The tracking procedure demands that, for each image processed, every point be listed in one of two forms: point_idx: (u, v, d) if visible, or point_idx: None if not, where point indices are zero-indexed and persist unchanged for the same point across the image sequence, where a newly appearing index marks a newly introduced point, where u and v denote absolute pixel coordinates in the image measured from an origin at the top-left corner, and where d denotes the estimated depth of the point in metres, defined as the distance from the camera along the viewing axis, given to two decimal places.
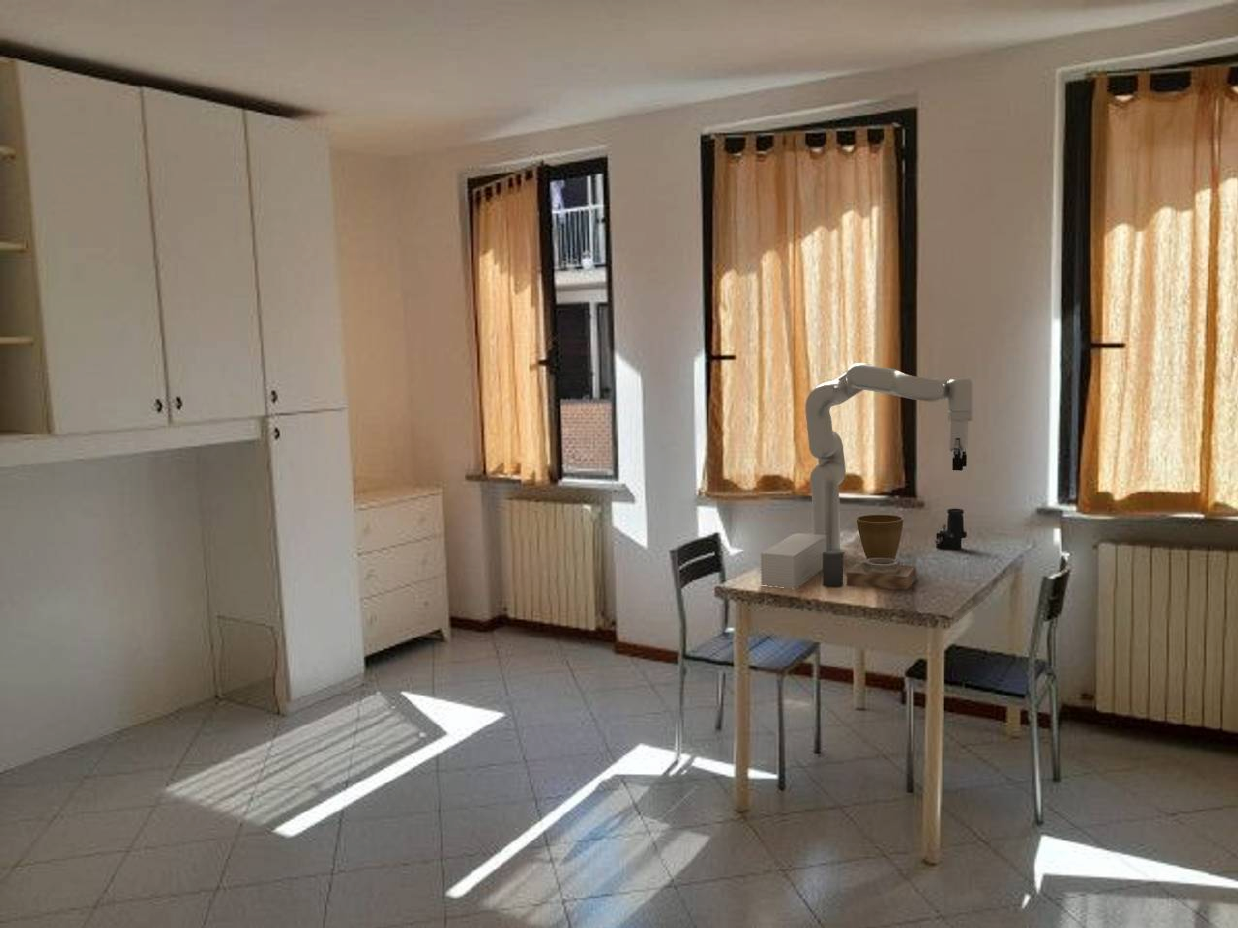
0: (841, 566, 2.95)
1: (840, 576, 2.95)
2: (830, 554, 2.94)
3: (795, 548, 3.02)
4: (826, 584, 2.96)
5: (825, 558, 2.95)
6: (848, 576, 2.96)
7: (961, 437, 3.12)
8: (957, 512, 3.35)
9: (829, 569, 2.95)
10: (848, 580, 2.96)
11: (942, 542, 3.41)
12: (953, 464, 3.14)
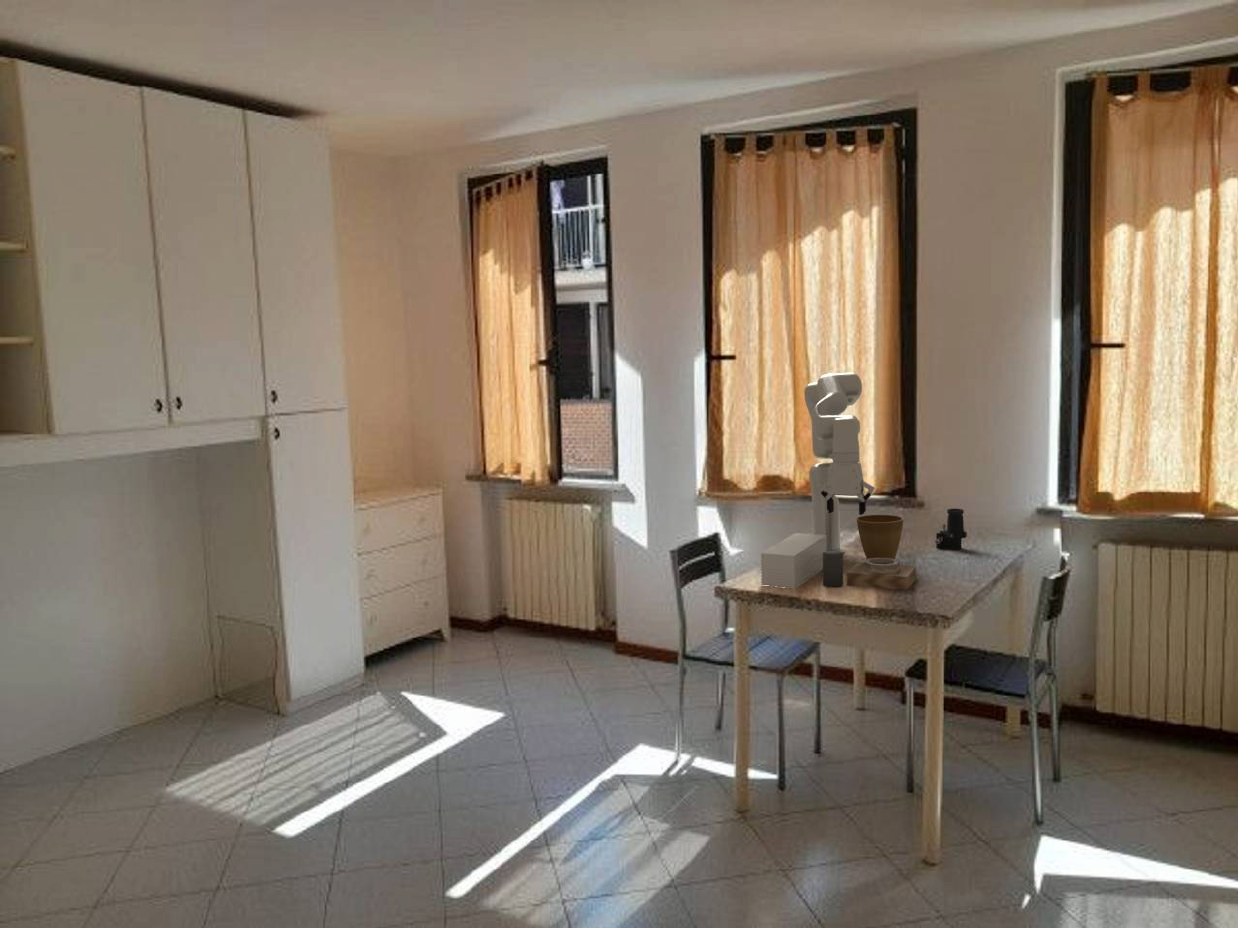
0: (841, 566, 2.95)
1: (840, 576, 2.95)
2: (830, 554, 2.94)
3: (795, 548, 3.02)
4: (826, 584, 2.96)
5: (825, 558, 2.95)
6: (848, 576, 2.96)
7: (862, 479, 2.94)
8: (957, 512, 3.35)
9: (829, 569, 2.95)
10: (848, 580, 2.96)
11: (942, 542, 3.41)
12: (861, 508, 2.93)
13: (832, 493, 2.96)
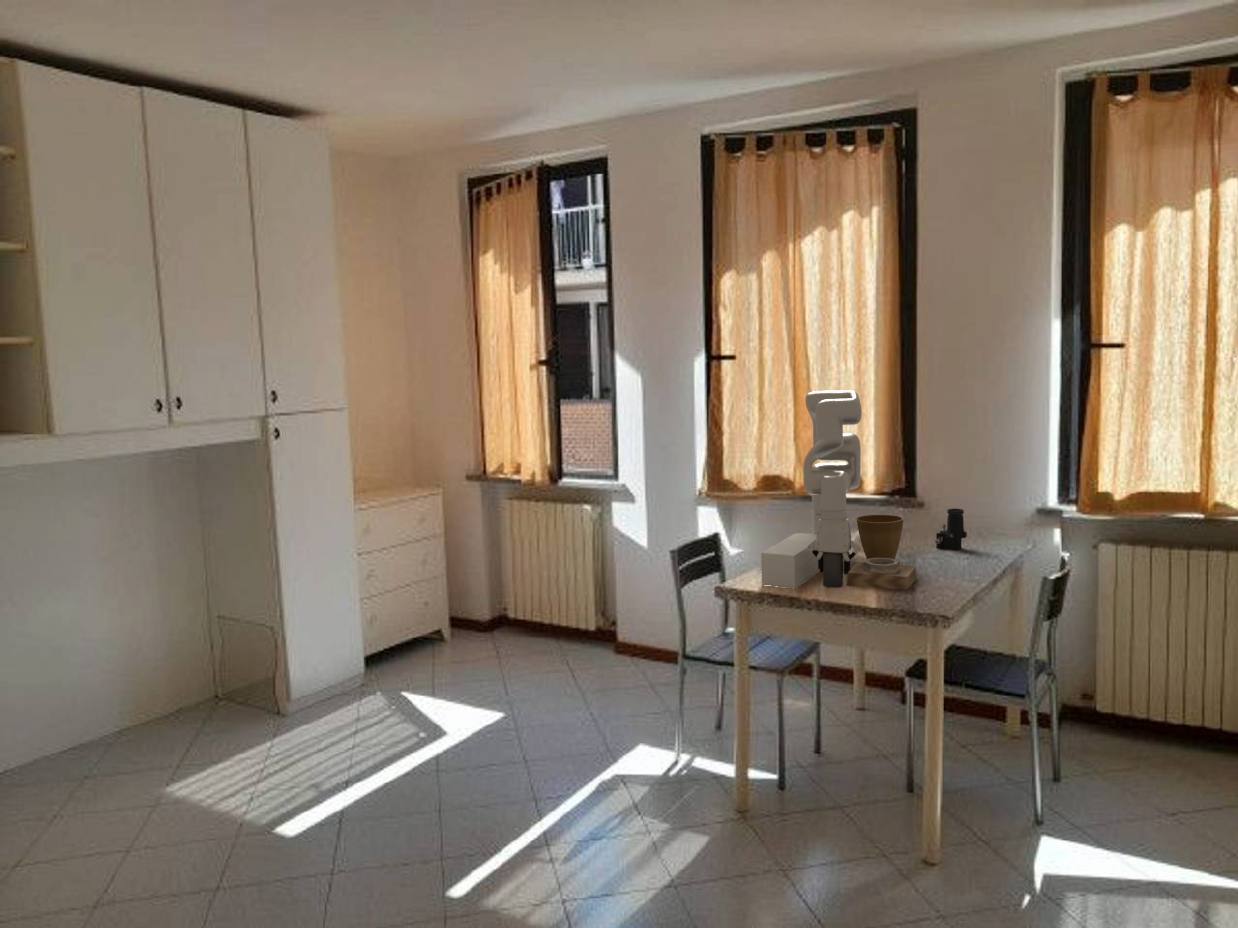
0: (841, 566, 2.95)
1: (840, 576, 2.95)
2: (830, 554, 2.94)
3: (795, 548, 3.03)
4: (826, 584, 2.96)
5: (825, 558, 2.95)
6: (848, 576, 2.96)
7: (850, 536, 2.94)
8: (957, 512, 3.35)
9: (829, 569, 2.94)
10: (848, 580, 2.96)
11: (942, 542, 3.41)
12: (846, 568, 2.94)
13: (820, 550, 2.95)
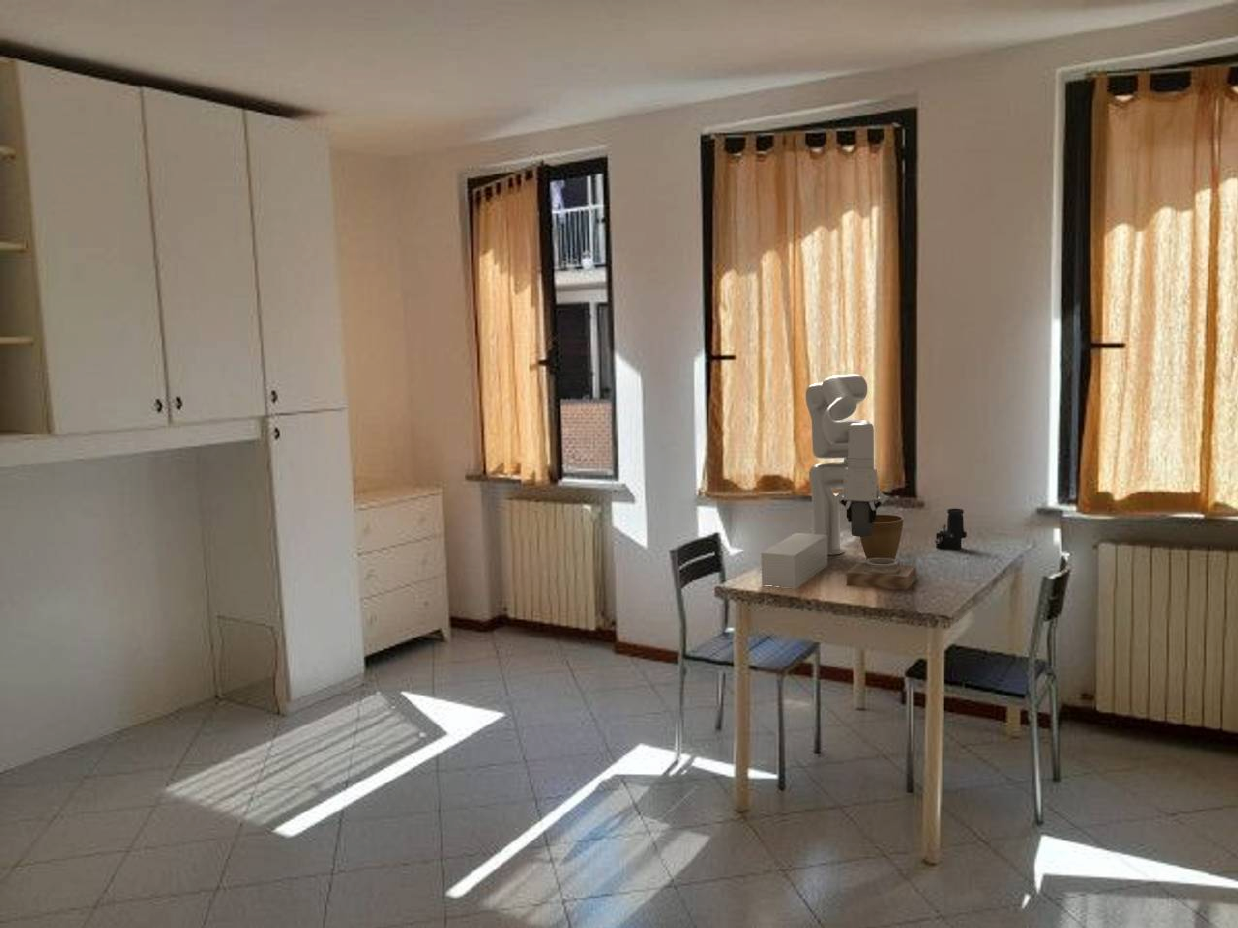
0: None
1: (869, 526, 2.94)
2: (859, 503, 2.93)
3: (796, 548, 3.03)
4: (854, 533, 2.95)
5: (854, 508, 2.94)
6: (848, 576, 2.96)
7: (878, 484, 2.93)
8: (957, 512, 3.35)
9: (857, 518, 2.93)
10: (848, 580, 2.96)
11: (942, 542, 3.41)
12: (872, 517, 2.93)
13: (848, 499, 2.94)
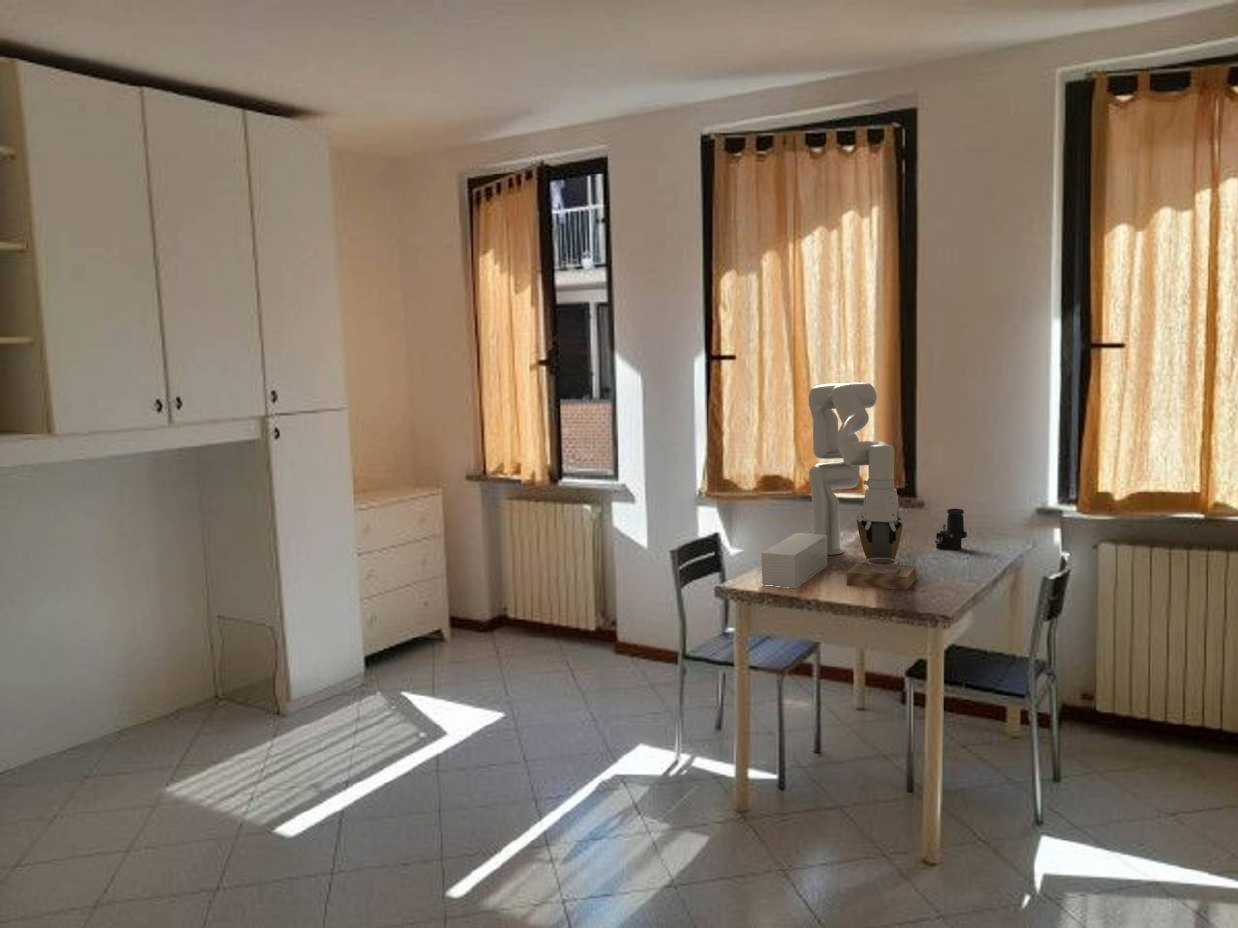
0: None
1: (889, 546, 2.95)
2: (879, 524, 2.95)
3: (796, 548, 3.03)
4: (875, 554, 2.96)
5: (874, 528, 2.95)
6: (848, 576, 2.96)
7: (898, 505, 2.95)
8: (957, 512, 3.35)
9: (878, 539, 2.95)
10: (848, 580, 2.96)
11: (942, 542, 3.41)
12: (892, 537, 2.94)
13: (868, 520, 2.95)
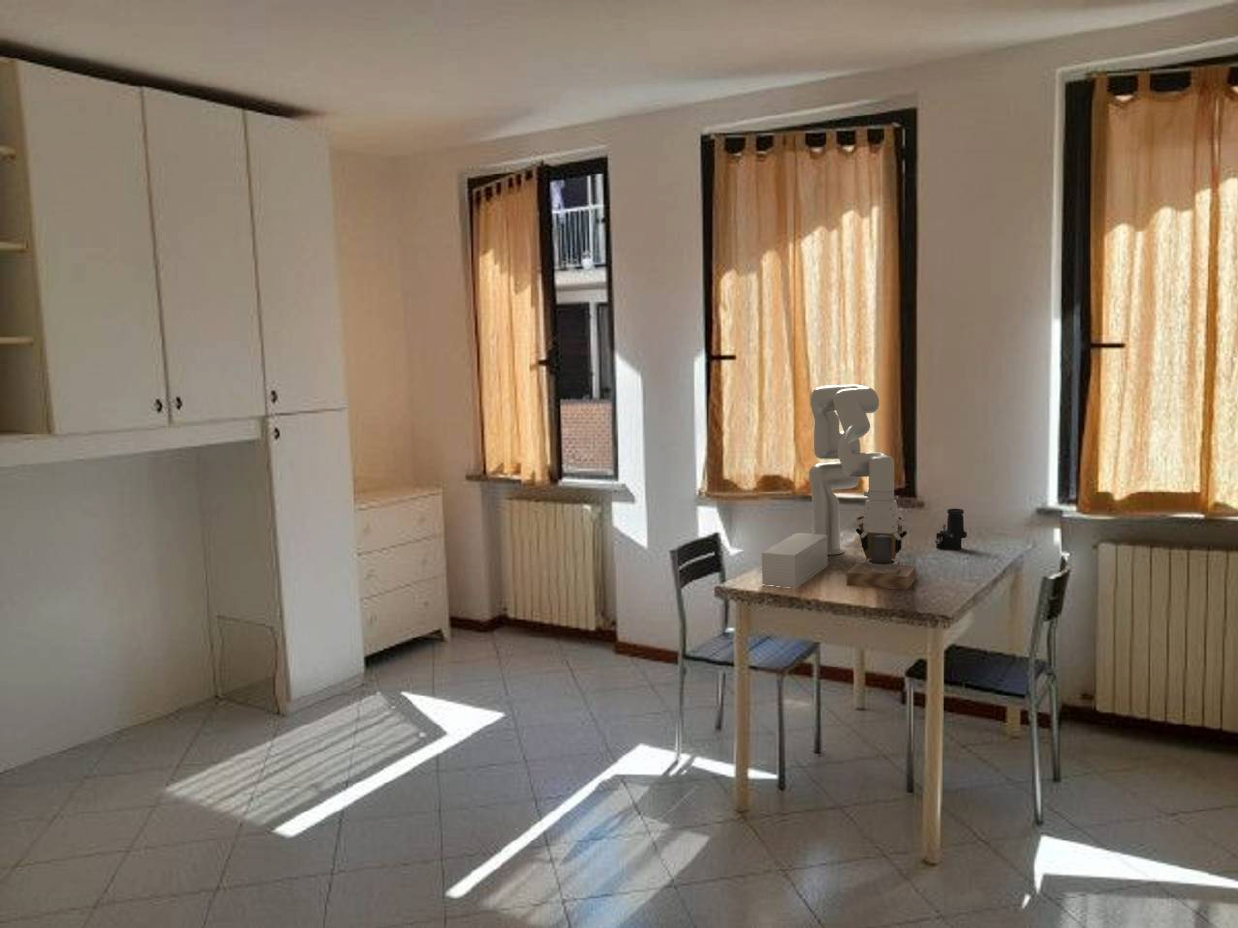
0: (890, 550, 2.96)
1: (889, 560, 2.96)
2: (879, 538, 2.95)
3: (796, 548, 3.03)
4: None
5: (874, 542, 2.96)
6: (848, 576, 2.96)
7: (898, 517, 2.95)
8: (957, 512, 3.35)
9: (878, 553, 2.95)
10: (848, 580, 2.96)
11: (942, 542, 3.41)
12: (897, 546, 2.94)
13: (868, 531, 2.96)
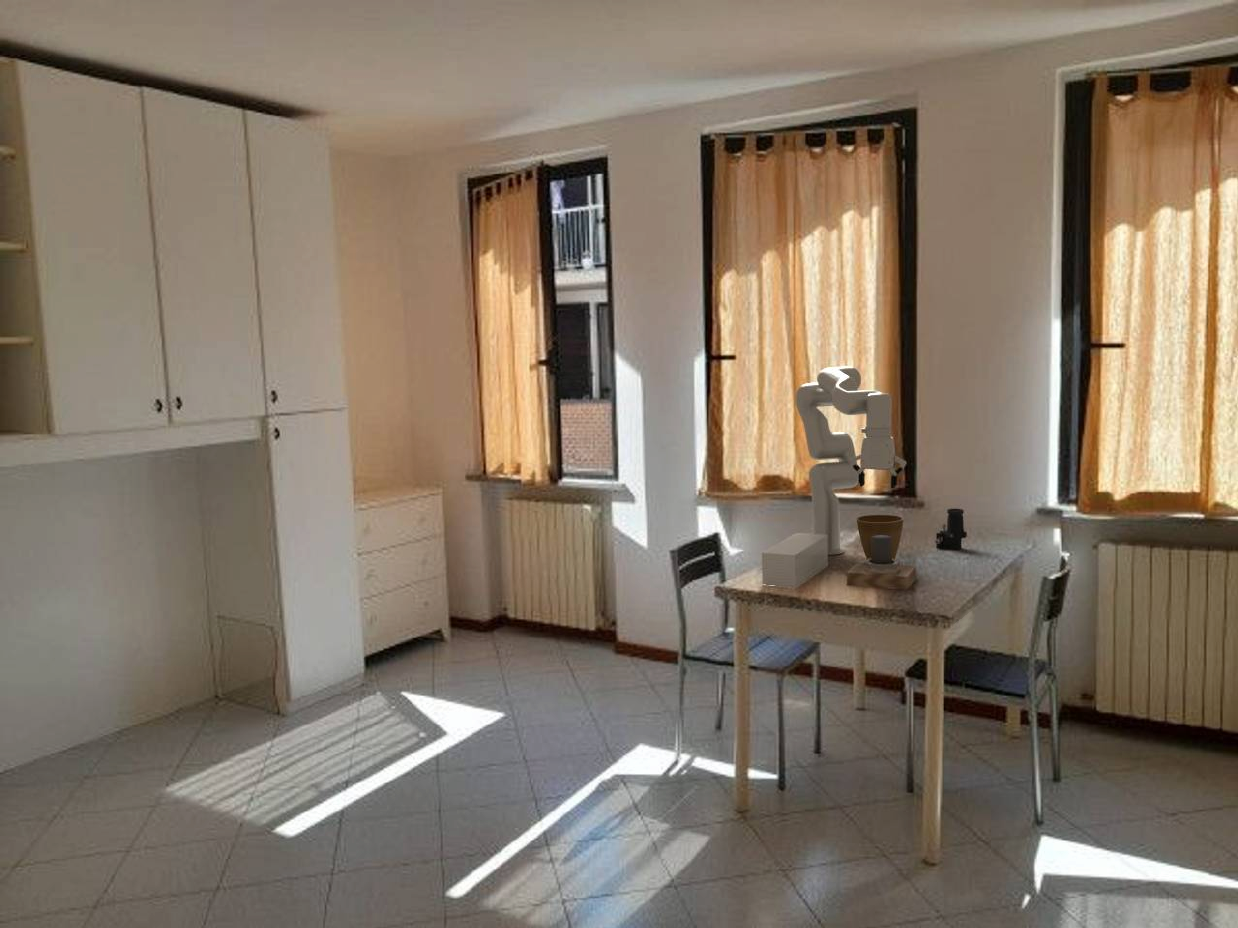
0: (890, 550, 2.96)
1: (889, 560, 2.96)
2: (879, 538, 2.95)
3: (796, 548, 3.03)
4: None
5: (874, 542, 2.96)
6: (848, 576, 2.96)
7: (894, 453, 3.01)
8: (957, 512, 3.35)
9: (878, 553, 2.95)
10: (848, 580, 2.96)
11: (942, 542, 3.41)
12: (893, 482, 3.01)
13: (865, 467, 3.03)
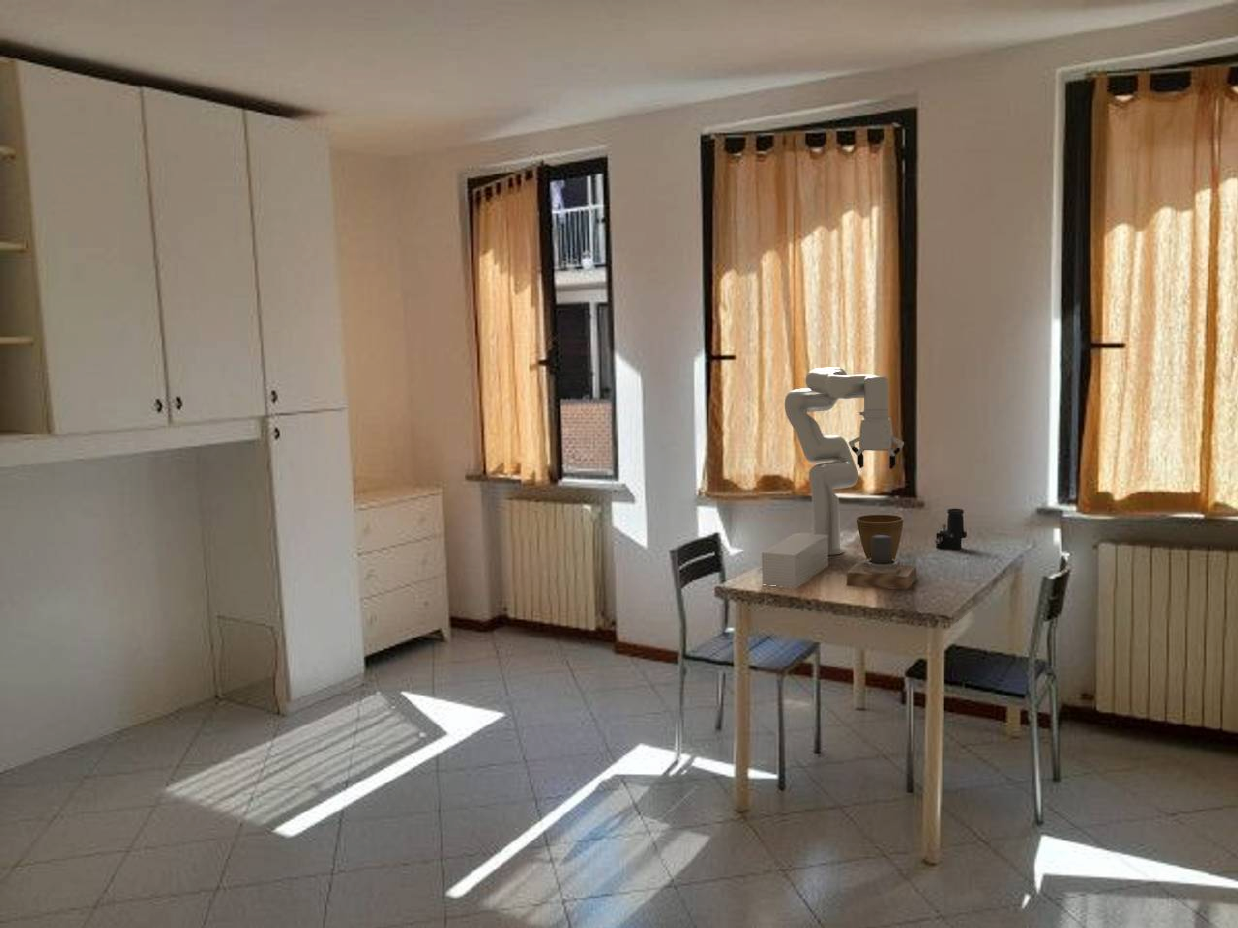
0: (890, 550, 2.96)
1: (889, 560, 2.96)
2: (879, 538, 2.95)
3: (796, 547, 3.03)
4: None
5: (874, 542, 2.96)
6: (848, 576, 2.96)
7: (892, 434, 3.08)
8: (957, 512, 3.35)
9: (878, 553, 2.95)
10: (848, 580, 2.96)
11: (942, 542, 3.41)
12: (891, 462, 3.07)
13: (863, 448, 3.09)
